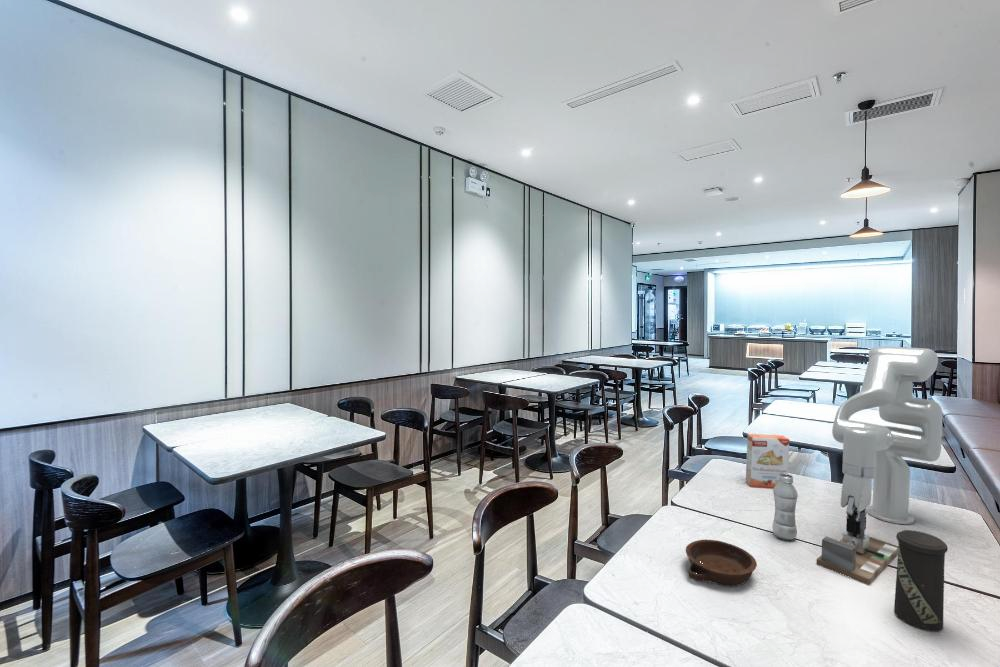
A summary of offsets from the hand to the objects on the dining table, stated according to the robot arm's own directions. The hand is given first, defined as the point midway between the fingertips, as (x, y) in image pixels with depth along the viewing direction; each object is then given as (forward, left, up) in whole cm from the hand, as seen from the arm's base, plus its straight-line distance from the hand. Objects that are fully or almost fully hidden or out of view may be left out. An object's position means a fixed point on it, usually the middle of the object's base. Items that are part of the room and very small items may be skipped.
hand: (856, 529), depth 132 cm
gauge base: (+2, +2, -7) cm, 8 cm away
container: (+23, +19, -7) cm, 30 cm away
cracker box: (-33, -39, -8) cm, 52 cm away
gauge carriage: (+3, +2, -5) cm, 6 cm away
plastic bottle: (+7, -16, -7) cm, 19 cm away
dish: (+42, -18, -8) cm, 46 cm away
